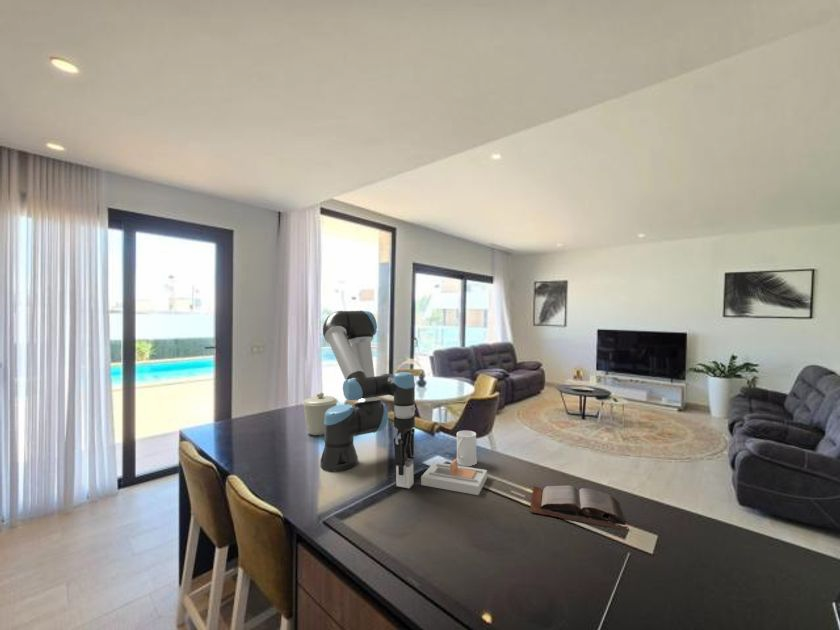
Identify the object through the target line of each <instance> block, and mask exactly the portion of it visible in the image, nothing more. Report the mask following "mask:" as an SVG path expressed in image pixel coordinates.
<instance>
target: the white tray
mask: <svg viewBox="0 0 840 630" xmlns="http://www.w3.org/2000/svg"><path fill="white" fill-rule="evenodd" d="M450 464H451V463H443V462H439V461H438V462H437V461H434V462H433V463H432V464H431V465H429V467H428V469H427V470H426V471H425V472H424V473H423V474H422V475H421V476H420V485H421V486H425V487H431V488H437V489H442V490H446V491H447V490H448V491H452V492H458V493H464V494H470V495H474V496H480V493H481V491H482V490H483V487H484V485H485V483H486V481H487V479H488V470H487V469H482V468H475V467H471V466H461V465H457V468H462V469H468V470H475V471H476V473H475V475H474V477H473V479H469V478H463V477H457V476H451V475H450Z"/></svg>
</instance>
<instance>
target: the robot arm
mask: <svg viewBox="0 0 840 630" xmlns="http://www.w3.org/2000/svg"><path fill="white" fill-rule="evenodd" d="M377 328H378V323H377V319H376V316H375V315H374V314H373V312H370V311H369V310H338V311H334V312H332V313H331V314H329V315H328V316H327V317H326V319H325V320H324V322H323V325H322V336H323V338H324V341H325V342H326V343H327V344H329V345H330V347H331V350H332V353H333V354H334V357H335V359H336V362H337V363H338V366H339V368H340V371H341V373H342V376H343V378H344V379H345V380H344V381H343V384H342V392H343V396H344V398H345V399H346V400H347V401H354V403H353V405H354V406H353V405H352V404H337V405H336V406H334V407H332V408H330V409H328V410H327V411H326V412H325V419H324V426H325V435H324V448H323V451H322V454H321V458H320V468H321V469H322V470H324V471H327V472H343V471H346V470H347V471H348V470H350V469H352V468H354V467H356V466H357V465H358V463H359V457H358V456H359V455H358V454H357V450H356V447H355V444H354V437H358V436H361V435H367V434H372V433H377V432H381V431H383V430H384V429H385V428H386V426H387V424H388V419H389V411H388V408H387V405H386V404H385V403H383V402H382V399H381V398H380V397H384V396H391V397H393V415H394V417H393V426H394V428H395V429H397V434H396V435H397V437H394V438H393V446H394V465H395V467H396V466H398V483H401V484H406V465H405V454H407V458H410V459H413V460H414V459H415V457H414V455H415V428H414V427H415V426H416V421H415V419H416V417H415V414H416V413H415V411H416V407H415V403H416V401H415V393H416V392H415V389H416V383H415V375H414V373H413V372H407V371H399V372H395V373H394V374H392V373H383V374H381V375H376V376H375V371H374V362H373V361H374V360H373V352H372V344H371V342H372V341H373V340H374V336H375V335H376V334H377Z"/></svg>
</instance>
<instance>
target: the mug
mask: <svg viewBox="0 0 840 630" xmlns="http://www.w3.org/2000/svg"><path fill="white" fill-rule="evenodd" d="M456 459H457V463H458V464H457V465H459V464H460V465H459V466H461V465H464V467H473V466H472V465H474V466H475V464H476V465H477V463H478V460H477V432H475V431H474V430H473V431H472V430H459V431H457V432H456Z"/></svg>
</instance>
